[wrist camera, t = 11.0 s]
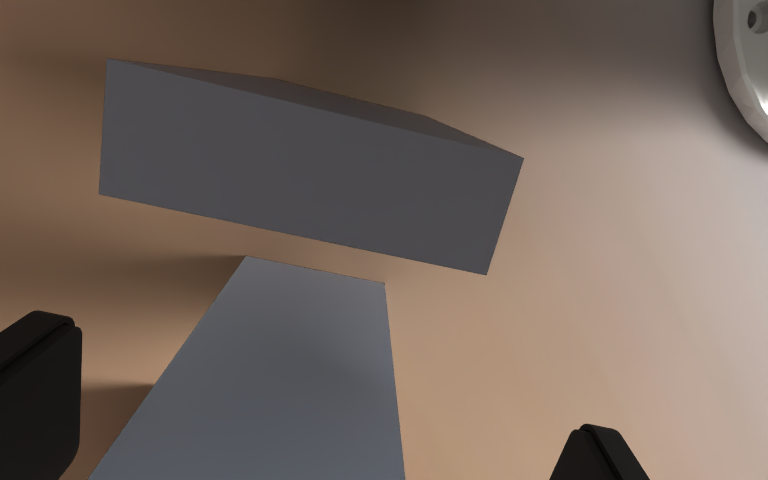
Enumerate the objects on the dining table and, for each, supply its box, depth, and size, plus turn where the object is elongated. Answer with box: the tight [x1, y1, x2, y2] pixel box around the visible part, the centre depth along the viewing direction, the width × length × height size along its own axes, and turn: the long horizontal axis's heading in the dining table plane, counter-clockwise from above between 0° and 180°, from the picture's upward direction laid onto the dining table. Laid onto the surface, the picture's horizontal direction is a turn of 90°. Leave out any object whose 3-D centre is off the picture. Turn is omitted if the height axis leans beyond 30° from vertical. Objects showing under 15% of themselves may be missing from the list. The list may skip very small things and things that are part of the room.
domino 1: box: [99, 58, 524, 275], centre depth 11 cm, size 2×5×10 cm, turn 77°
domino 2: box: [87, 256, 405, 480], centre depth 12 cm, size 2×5×10 cm, turn 77°
